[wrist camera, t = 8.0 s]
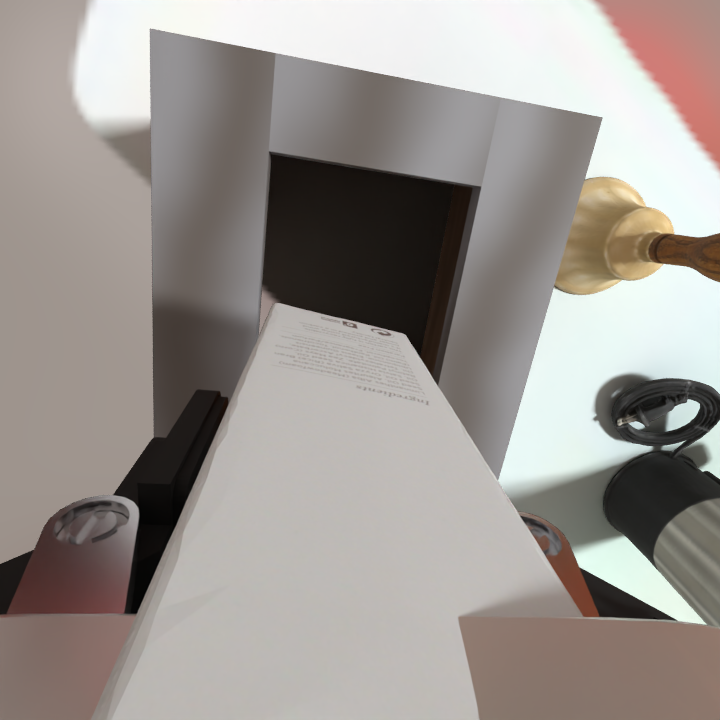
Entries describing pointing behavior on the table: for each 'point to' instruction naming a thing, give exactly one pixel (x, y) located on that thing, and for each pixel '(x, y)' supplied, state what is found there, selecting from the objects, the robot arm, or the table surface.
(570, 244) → the hand bell
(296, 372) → the skincare box
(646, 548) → the milk frother
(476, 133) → the slot box
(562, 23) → the table surface
